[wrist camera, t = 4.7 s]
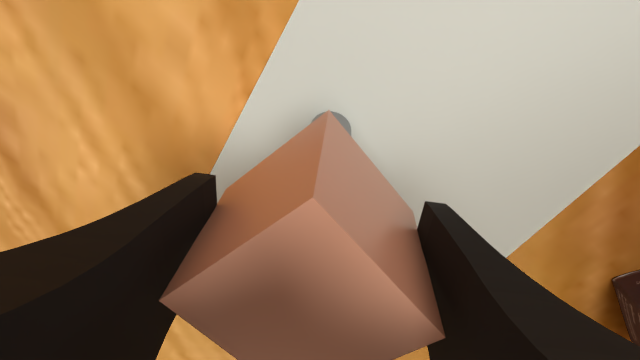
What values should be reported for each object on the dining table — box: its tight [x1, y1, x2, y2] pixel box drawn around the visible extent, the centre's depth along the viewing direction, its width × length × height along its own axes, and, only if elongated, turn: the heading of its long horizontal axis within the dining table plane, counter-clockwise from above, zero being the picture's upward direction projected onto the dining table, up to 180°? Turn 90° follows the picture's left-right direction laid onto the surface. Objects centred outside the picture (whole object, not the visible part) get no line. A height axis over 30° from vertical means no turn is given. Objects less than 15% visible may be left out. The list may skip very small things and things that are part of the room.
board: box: [210, 0, 640, 258], centre depth 17 cm, size 16×22×5 cm
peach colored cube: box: [159, 110, 446, 360], centre depth 10 cm, size 4×4×5 cm
